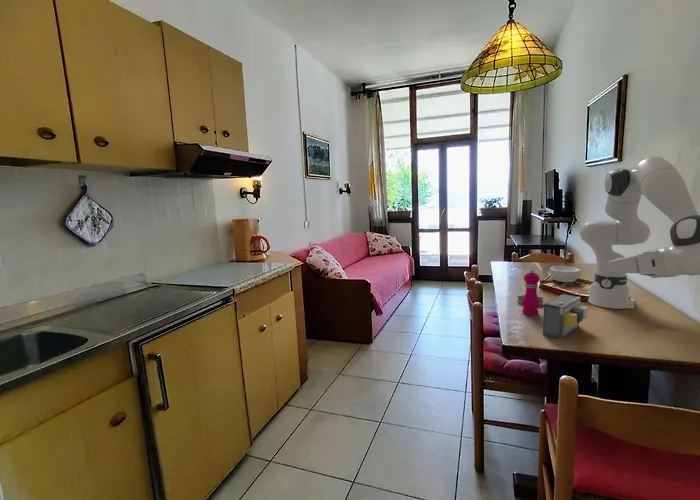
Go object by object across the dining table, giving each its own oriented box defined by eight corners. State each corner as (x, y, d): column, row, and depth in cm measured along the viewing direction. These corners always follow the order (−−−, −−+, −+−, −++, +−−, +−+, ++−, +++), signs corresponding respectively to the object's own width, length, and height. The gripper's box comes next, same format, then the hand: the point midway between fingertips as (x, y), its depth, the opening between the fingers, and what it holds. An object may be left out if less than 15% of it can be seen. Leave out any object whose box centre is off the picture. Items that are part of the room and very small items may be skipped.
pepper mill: (541, 316, 154) (543, 270, 152) (523, 315, 156) (525, 270, 153) (536, 311, 161) (538, 267, 158) (519, 310, 163) (520, 267, 160)
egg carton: (515, 303, 174) (515, 295, 173) (521, 300, 179) (522, 292, 178) (539, 308, 166) (539, 299, 165) (545, 304, 171) (545, 296, 170)
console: (561, 322, 147) (562, 292, 145) (579, 326, 142) (580, 295, 140) (542, 334, 135) (544, 302, 133) (561, 339, 130) (563, 305, 128)
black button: (570, 318, 137) (570, 308, 136) (582, 320, 134) (582, 310, 133) (566, 320, 135) (567, 310, 134) (578, 323, 132) (579, 312, 131)
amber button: (564, 321, 134) (565, 311, 133) (576, 324, 131) (577, 313, 130) (561, 324, 131) (561, 313, 131) (573, 327, 128) (573, 316, 128)
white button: (575, 314, 141) (575, 304, 140) (587, 317, 138) (587, 307, 137) (572, 316, 138) (572, 306, 138) (583, 319, 135) (584, 309, 135)
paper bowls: (576, 286, 200) (577, 272, 198) (546, 282, 210) (546, 269, 209) (582, 280, 211) (583, 267, 209) (553, 277, 221) (553, 264, 220)
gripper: (671, 252, 114) (621, 258, 126) (640, 253, 104) (589, 258, 116) (674, 272, 113) (624, 275, 125) (643, 274, 103) (592, 278, 115)
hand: (607, 267), depth 121 cm, fingers open, 8 cm apart
